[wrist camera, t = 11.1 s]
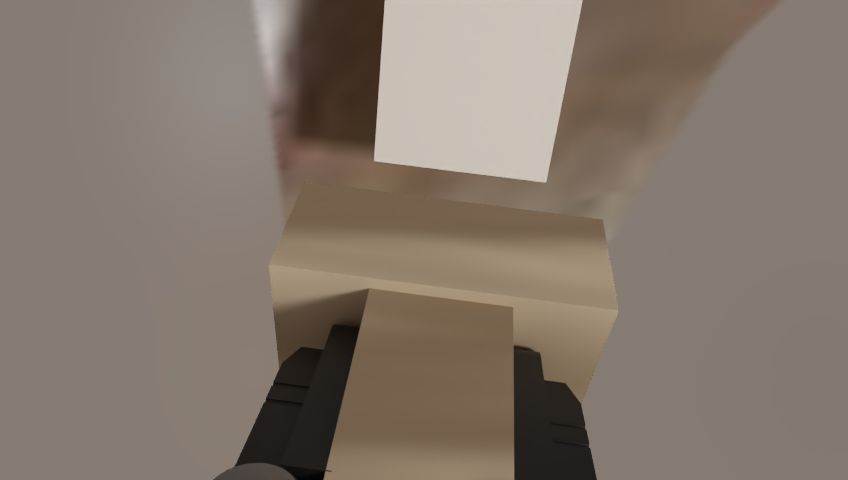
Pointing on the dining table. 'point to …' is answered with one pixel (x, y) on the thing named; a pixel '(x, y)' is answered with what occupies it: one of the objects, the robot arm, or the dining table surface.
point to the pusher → (438, 321)
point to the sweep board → (474, 84)
